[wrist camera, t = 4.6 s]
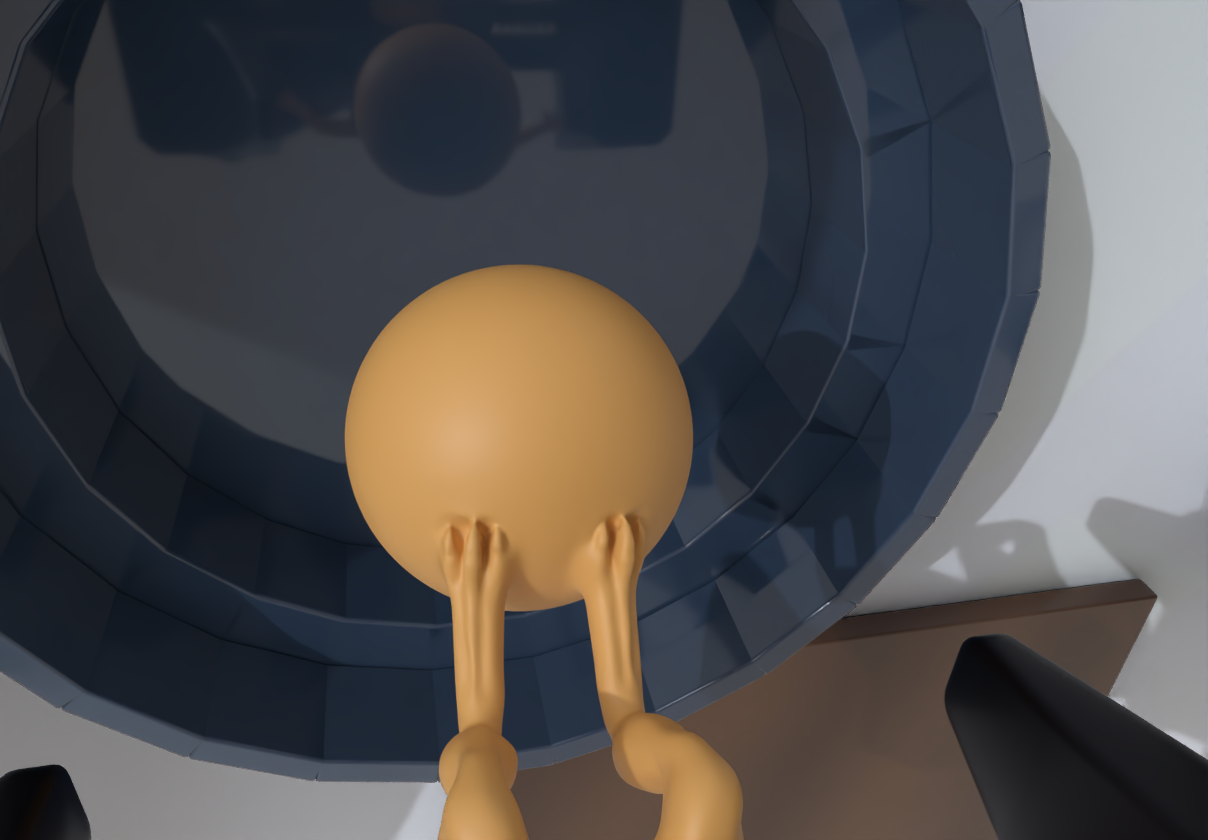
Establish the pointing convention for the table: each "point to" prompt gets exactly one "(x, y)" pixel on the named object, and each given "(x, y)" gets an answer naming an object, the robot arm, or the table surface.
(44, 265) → the basin
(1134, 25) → the table surface
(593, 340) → the figurine
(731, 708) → the walnut board
